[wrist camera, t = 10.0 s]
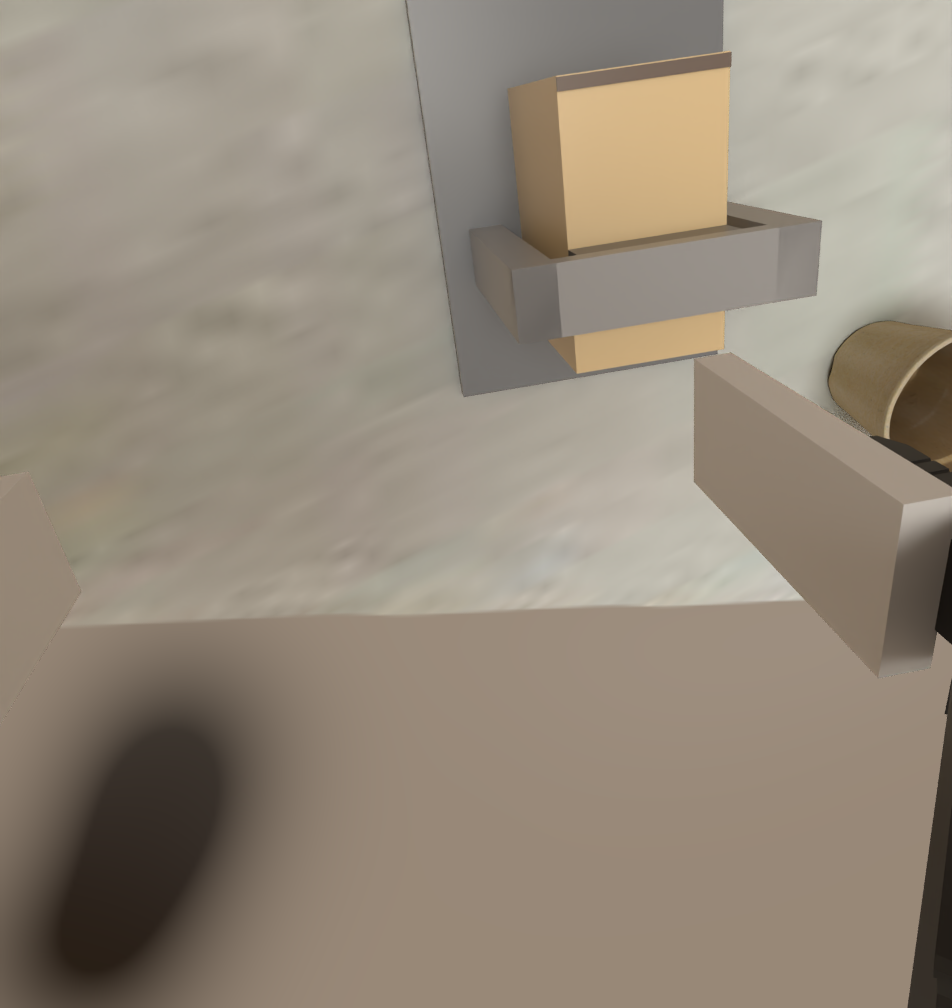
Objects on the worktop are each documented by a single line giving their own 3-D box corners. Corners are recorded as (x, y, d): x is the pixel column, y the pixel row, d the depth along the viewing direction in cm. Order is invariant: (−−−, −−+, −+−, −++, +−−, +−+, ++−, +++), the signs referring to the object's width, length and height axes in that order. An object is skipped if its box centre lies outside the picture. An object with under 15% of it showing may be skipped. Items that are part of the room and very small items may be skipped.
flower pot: (969, 328, 50) (1081, 365, 42) (883, 453, 53) (972, 508, 45) (860, 270, 47) (958, 298, 39) (776, 406, 50) (851, 456, 42)
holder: (462, 392, 47) (499, 491, 34) (358, -322, 32) (356, -614, 20) (712, 350, 48) (839, 431, 35) (721, -362, 33) (944, -665, 20)
